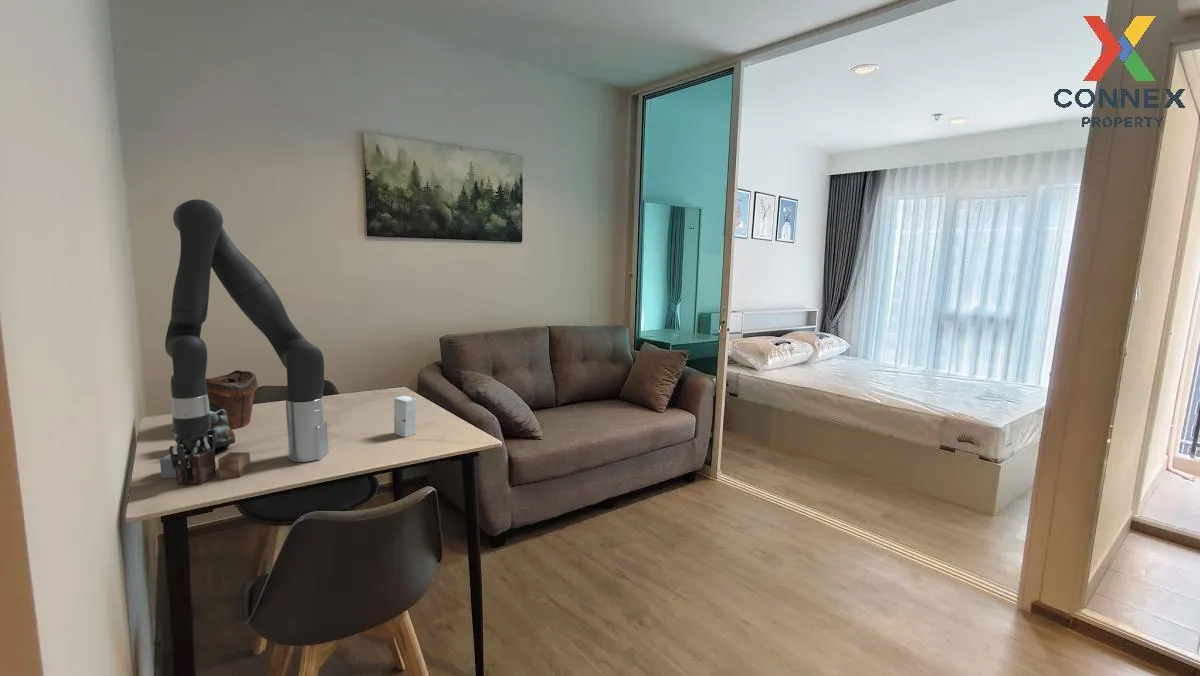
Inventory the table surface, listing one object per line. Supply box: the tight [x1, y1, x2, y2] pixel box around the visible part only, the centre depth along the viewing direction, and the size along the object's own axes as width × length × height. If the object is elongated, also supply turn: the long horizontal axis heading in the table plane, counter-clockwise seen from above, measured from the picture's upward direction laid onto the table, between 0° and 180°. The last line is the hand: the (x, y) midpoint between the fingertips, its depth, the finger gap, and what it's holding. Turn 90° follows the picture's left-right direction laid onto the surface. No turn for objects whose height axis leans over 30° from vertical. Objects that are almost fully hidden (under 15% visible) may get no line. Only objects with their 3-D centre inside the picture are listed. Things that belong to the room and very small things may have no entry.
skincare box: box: [393, 395, 417, 438], centre depth 175 cm, size 6×4×12 cm
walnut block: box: [217, 451, 252, 479], centre depth 141 cm, size 5×5×5 cm
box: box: [175, 449, 217, 485], centre depth 136 cm, size 6×6×7 cm
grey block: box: [159, 453, 176, 479], centre depth 140 cm, size 5×5×5 cm
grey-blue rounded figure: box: [170, 407, 236, 449], centre depth 156 cm, size 15×12×14 cm
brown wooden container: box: [206, 369, 259, 430], centre depth 178 cm, size 18×20×18 cm
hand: (196, 476), depth 137 cm, fingers closed on box, 6 cm apart
